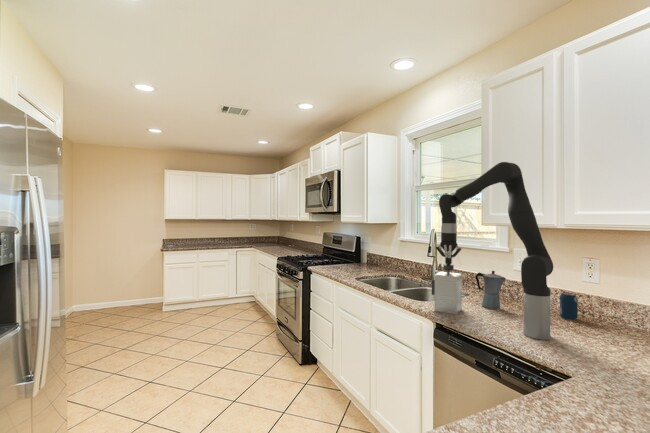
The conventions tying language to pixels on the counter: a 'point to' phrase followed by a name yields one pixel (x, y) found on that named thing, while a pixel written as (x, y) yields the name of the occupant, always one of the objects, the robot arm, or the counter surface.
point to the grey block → (447, 292)
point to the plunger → (448, 268)
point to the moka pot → (491, 289)
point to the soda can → (568, 306)
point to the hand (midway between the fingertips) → (448, 265)
